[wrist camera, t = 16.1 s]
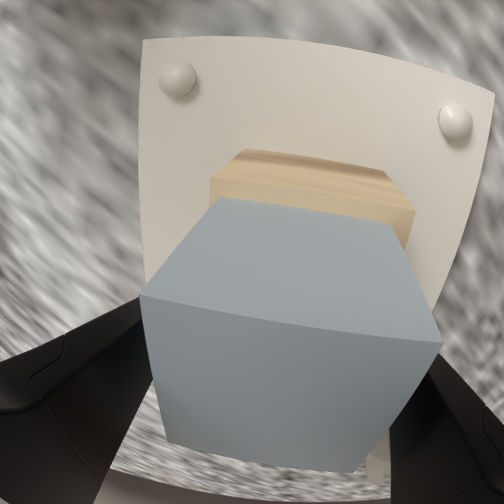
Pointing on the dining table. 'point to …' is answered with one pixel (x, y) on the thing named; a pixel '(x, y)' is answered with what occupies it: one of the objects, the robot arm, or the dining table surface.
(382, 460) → the die
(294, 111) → the building plate
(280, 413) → the slate brick
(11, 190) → the dining table surface
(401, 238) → the maple brick
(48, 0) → the dining table surface
